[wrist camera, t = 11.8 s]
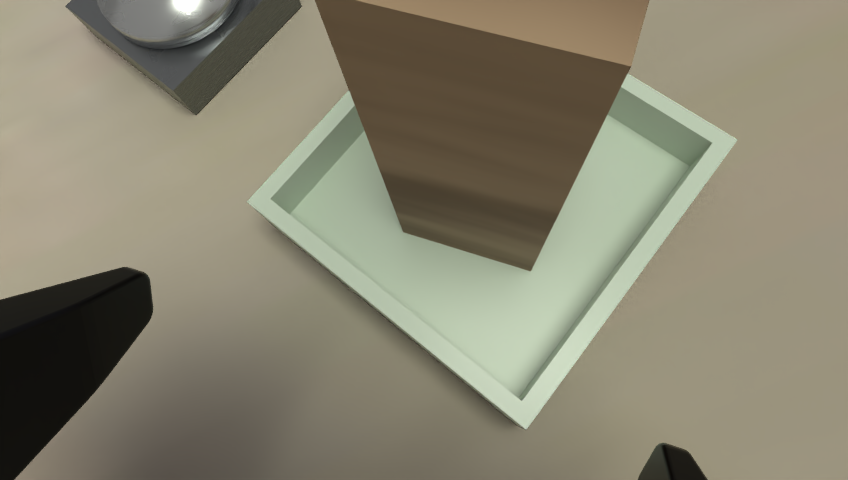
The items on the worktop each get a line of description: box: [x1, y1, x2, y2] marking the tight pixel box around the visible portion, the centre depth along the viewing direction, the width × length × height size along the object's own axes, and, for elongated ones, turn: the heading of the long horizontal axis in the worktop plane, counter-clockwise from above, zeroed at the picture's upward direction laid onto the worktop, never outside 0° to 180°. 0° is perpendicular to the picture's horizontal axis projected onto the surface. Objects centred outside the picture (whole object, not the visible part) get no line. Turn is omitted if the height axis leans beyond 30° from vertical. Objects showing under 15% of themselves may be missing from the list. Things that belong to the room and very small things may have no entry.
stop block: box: [315, 0, 649, 271], centre depth 15 cm, size 5×5×13 cm
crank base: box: [65, 0, 301, 115], centre depth 25 cm, size 7×7×2 cm
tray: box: [247, 74, 737, 430], centre depth 21 cm, size 12×12×3 cm
